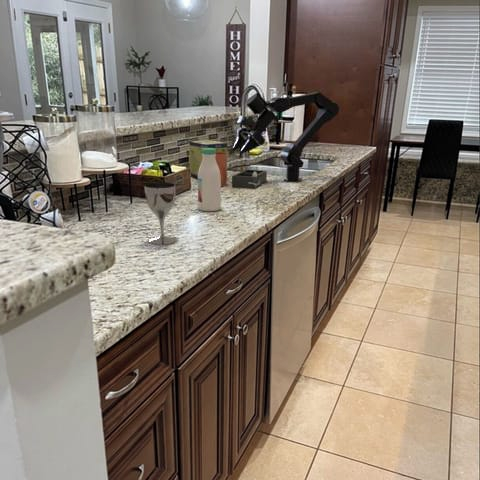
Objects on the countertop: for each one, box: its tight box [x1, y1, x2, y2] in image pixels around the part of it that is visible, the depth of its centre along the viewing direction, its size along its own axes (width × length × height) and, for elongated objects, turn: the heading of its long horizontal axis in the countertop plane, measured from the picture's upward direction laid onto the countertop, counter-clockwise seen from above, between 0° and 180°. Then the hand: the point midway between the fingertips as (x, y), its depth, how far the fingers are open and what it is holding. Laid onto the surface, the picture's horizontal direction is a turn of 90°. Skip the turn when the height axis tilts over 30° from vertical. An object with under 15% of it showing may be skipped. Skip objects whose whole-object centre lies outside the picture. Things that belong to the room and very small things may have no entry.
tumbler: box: [215, 152, 228, 187], centre depth 210 cm, size 6×6×13 cm
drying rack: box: [231, 169, 268, 190], centre depth 214 cm, size 9×18×5 cm, turn 160°
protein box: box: [188, 139, 228, 179], centre depth 225 cm, size 10×16×16 cm
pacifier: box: [248, 172, 260, 188], centre depth 208 cm, size 7×6×6 cm
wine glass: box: [144, 182, 177, 245], centre depth 134 cm, size 8×8×15 cm
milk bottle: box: [197, 148, 222, 212], centre depth 168 cm, size 8×8×20 cm
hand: (237, 151), depth 209 cm, fingers open, 9 cm apart
